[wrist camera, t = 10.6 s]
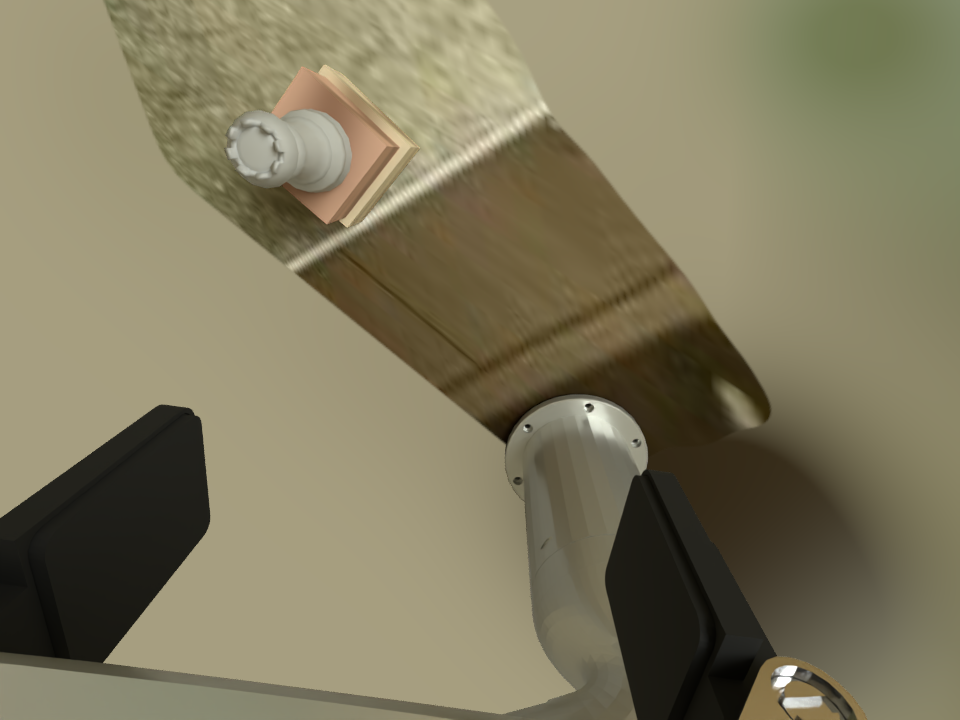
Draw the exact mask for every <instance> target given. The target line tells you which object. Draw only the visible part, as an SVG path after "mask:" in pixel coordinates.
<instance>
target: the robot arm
mask: <svg viewBox="0 0 960 720" xmlns="http://www.w3.org/2000/svg"><path fill="white" fill-rule="evenodd" d="M589 403H590V404H589ZM586 404H589V405H586ZM526 424H530V425H529V426H526ZM634 439H635V440H634ZM204 456H205V455H204V445H203V434H202V424H201V420H200V418H199V417H198V416H195V415H194V413H193V411H192V410H191V409H190V408H185V407H177V406H170V405H159V406H157V407H155V408H154V409H152V410H151V411H150V412H148V413H147V414H145V415H144V416H143V417H141V418H140V419H139V420H137V421H136V422H134V423H133V424H132V425H130V426H129V427H127V428H126V429H124V430H123V431H122V432H120V433H119V434H117V435H116V436H115V437H113V438H112V439H110V440H109V441H108V442H106V443H105V444H103V445H102V446H101V447H99V448H98V449H96V450H95V451H94V452H92V453H91V454H90V455H88V456H87V457H85V458H84V459H83V460H81V461H80V462H78V463H77V464H76V465H74V466H73V467H71V468H70V469H69V470H67V471H66V472H65V473H63V474H62V475H60V476H59V477H57V478H56V479H55V480H53V481H52V482H50V483H49V484H48V485H46V486H45V487H43V488H42V489H41V490H39V491H38V492H36V493H35V494H34V495H32V496H31V497H29V498H28V499H27V500H25V501H24V502H22V503H21V504H20V505H18V506H17V507H15V508H14V509H13V510H11V511H10V512H8V513H7V514H6V515H4V516H3V517H1V518H0V720H867V718H866V715H865V713H864V712H863V710H862V709H861V707H860V706H859V705H858V703H857V702H856V700H855V699H854V698H853V696H851V694H850V693H849V692H848V691H847V690H845V689H844V688H843V686H841V685H840V684H839V683H838V682H837V681H836V680H834V679H833V678H832V677H830V676H829V675H828V674H826V673H825V672H824V671H822V670H820V669H818V668H816V667H815V666H813V665H810V664H809V663H807V662H804V661H801V660H798V659H795V658H791V657H778V656H777V655H776V653H775V652H774V650H773V648H772V646H771V644H770V643H769V641H768V639H767V637H766V635H765V634H764V632H763V630H762V628H761V626H760V624H759V623H758V621H757V619H756V617H755V615H754V614H753V612H752V610H751V608H750V606H749V604H748V603H747V601H746V599H745V597H744V595H743V594H742V592H741V590H740V588H739V586H738V584H737V583H736V581H735V579H734V577H733V575H732V574H731V572H730V570H729V568H728V567H727V565H726V563H725V561H724V559H723V557H722V555H721V554H720V552H719V550H718V549H717V547H716V546H715V544H714V543H712V542H711V541H710V539H709V538H708V536H707V534H706V532H705V530H704V528H703V527H702V525H701V523H700V521H699V519H698V517H697V515H696V514H695V512H694V510H693V508H692V506H691V504H690V503H689V501H688V499H687V497H686V495H685V493H684V492H683V490H682V488H681V486H680V484H679V482H678V481H677V479H676V477H675V476H674V474H673V473H668V472H660V471H654V470H646V466H647V461H648V453H647V445H646V442H645V438H644V436H643V434H642V432H641V429H640V427H639V426H638V424H637V423H636V422H635V420H634V419H633V417H632V416H631V415H630V414H629V413H627V412H626V411H625V410H624V409H623V408H621V407H620V406H618V405H617V404H615V403H613V402H611V401H609V400H606V399H603V398H601V397H596V396H591V395H573V394H572V395H566V396H560V397H556V398H553V399H550V400H547V401H544V402H543V403H541V404H539V405H537V406H535V407H533V408H532V409H531V410H530V411H528V412H527V413H526V414H525V415H523V416H522V418H521V419H520V420H519V421H518V422H517V424H516V425H515V426H514V428H513V430H512V432H511V433H510V435H509V438H508V441H507V445H506V449H505V467H506V468H505V469H506V473H507V477H508V480H509V482H510V484H511V486H512V488H513V490H514V491H515V492H516V494H517V495H518V496H519V497H520V498H521V499H522V500H523V501H524V502H525V513H526V528H527V529H526V530H527V545H528V560H529V576H530V591H531V602H532V616H533V622H534V627H535V630H536V634H537V637H538V639H539V642H540V643H541V646H542V648H543V650H544V652H545V654H546V655H547V657H548V659H549V660H550V661H551V663H552V664H553V665H554V667H555V668H556V669H557V670H558V672H559V673H560V674H561V675H562V676H563V677H564V678H565V679H566V680H567V681H568V682H569V683H570V684H571V685H572V686H573V687H574V688H575V689H576V690H577V691H575V692H572V693H569V694H566V695H563V696H560V697H557V698H553V699H550V700H548V701H547V702H546V703H543V704H539V705H536V706H532V707H528V708H524V709H521V710H517V711H513V712H509V713H506V714H494V713H487V712H480V711H471V710H465V709H458V708H450V707H442V706H435V705H428V704H421V703H413V702H406V701H398V700H390V699H383V698H375V697H367V696H359V695H352V694H344V693H336V692H329V691H321V690H313V689H305V688H298V687H290V686H282V685H274V684H266V683H258V682H251V681H243V680H235V679H227V678H219V677H210V676H202V675H195V674H187V673H178V672H170V671H163V670H154V669H145V668H138V667H130V666H121V665H113V664H106V663H103V662H104V661H105V659H106V658H107V657H108V656H109V654H110V653H111V652H112V651H113V649H114V648H115V647H116V646H117V644H118V643H119V641H121V639H122V638H123V637H124V635H125V634H126V633H127V632H128V631H129V629H130V628H131V627H132V625H133V624H134V623H135V622H136V620H137V619H138V618H139V617H140V615H141V614H142V613H143V612H144V610H145V609H146V608H147V606H148V605H149V604H150V602H152V600H153V599H154V598H155V596H156V595H157V594H158V593H159V591H160V590H161V589H162V588H163V586H164V585H165V584H166V583H167V581H168V580H169V579H170V577H171V576H172V575H173V574H174V572H175V571H176V570H177V569H178V567H179V566H180V565H181V564H182V562H183V561H184V560H185V559H186V557H187V556H188V555H189V553H190V552H191V551H192V550H193V548H194V547H195V546H196V545H197V544H198V542H199V541H200V540H201V539H202V537H203V536H204V535H205V533H206V531H207V529H208V526H209V523H210V508H209V498H208V487H207V476H206V466H205V457H204Z"/></svg>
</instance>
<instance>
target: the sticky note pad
mask: <svg viewBox="0 0 960 720" xmlns="http://www.w3.org/2000/svg"><path fill="white" fill-rule="evenodd" d="M300 109H314V110H317V111H321V112H324V113H327V114H328V115H329V116H331V117H332V118H333V119H334V120H336V121H337V122H338V123H339V124H340V125H341V127H342V128H343V130H344V131H345V133H346V135H347V136H348V138H349V142H350V147H351V152H352V159H351V165H350V171H349V172H348V174H347V176H346V177H345V179H344V180H343V182H342V183H341V184H340V185H338V186H337V187H335V188H334V189H332V190H331V191H325V192H318V193H315V192H307V191H303V190H300V189H296V188H295V187H293V186H292V185H291V184H289V183H288V182H285V183H284V184H282V186H283V187H284V188H285V189H286V190H287V191H289V192H290V193H291V194H292V195H293V196H294V197H296V198H297V199H298V200H299V201H300V202H301V203H302V204H304V205H305V206H306V207H307V208H308V209H309V210H311V211H312V212H313V213H314V214H315V215H316V216H318V217H319V218H320V219H321V220H322V221H323V222H324V223H326V224H329V223H332V222H335V221H338V220H339V221H340V222H341V223H342V224H343V225H344V226H346V227H347V228H348V227H350V226H353V225H355V224H357V223H359V222H362V221H363V220H364V218H365V217H366V216H367V215H368V213H369V212H370V211H371V210H372V208H373V207H374V206H375V205H376V203H377V202H378V201H379V200H380V198H381V197H382V196H383V194H384V193H385V192H386V191H387V189H388V188H389V187H390V186H391V184H392V183H393V182H394V181H395V179H396V178H397V177H398V176H399V174H400V173H401V172H402V171H403V169H404V168H405V167H406V165H407V164H408V163H409V162H410V160H411V159H412V158H413V157H414V155H415V154H416V153H417V152H418V150H419V149H420V147H418V146H417V145H416V144H415V143H414V142H413V141H412V140H411V139H410V138H409V137H408V136H407V135H406V134H405V133H404V132H403V131H402V130H401V129H400V128H399V127H398V126H397V125H395V124H394V123H393V122H392V121H391V120H390V119H389V118H388V117H387V116H386V115H385V114H384V113H383V112H382V111H381V110H380V109H379V108H378V107H377V106H376V105H375V104H374V103H373V102H371V101H370V100H369V99H368V98H367V97H366V96H365V95H364V94H363V93H362V92H361V91H360V90H359V89H358V88H357V87H356V86H355V85H354V84H353V83H352V82H351V81H350V80H348V79H347V78H346V77H345V76H344V75H343V74H341V73H339V72H338V71H336V70H334V69H332V68H330V67H328V66H326V65H323V67H322V68H321V70H320V71H319V73H315V72H313V71H311V70H309V69H307V68H305V67H301V69H300V70H299V72H298V73H297V75H296V76H295V78H294V79H293V81H292V82H291V84H290V85H289V87H288V88H287V90H286V91H285V93H284V94H283V96H282V97H281V99H280V101H279V102H278V104H277V105H276V107H275V108H274V110H273V111H272V113H271V114H274V115H275V116H277V117H278V118H279V119H280V118H281V117H283V116H284V115H286V114H287V113H289V112H290V111H294V110H300Z"/></svg>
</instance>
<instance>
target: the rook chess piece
mask: <svg viewBox="0 0 960 720" xmlns="http://www.w3.org/2000/svg"><path fill="white" fill-rule="evenodd" d="M225 136H226V137H228V140H227V148H224V149H225V152H226V156H227V159H228V160H231V163H232V164H233V166H234V167H235V169H236V170H235V171H237V172H238V173H239V174H240V176H242V177H243V178H244V179H246V180H247V181H248V182H250V183H251V184H252V185H256V186H259V187H263V188H273V187H279V186H281V185H282V184H284V183H285V182H288V183H289V184H291V185H292V186H293V187H295V188H296V189H300V190H303V191H307V192H315V193H318V192H325V191H331V190H332V189H334V188H335V187H337V186H338V185H340V184H341V183H342V182H343V180H344V179H345V177H346V176H347V174H348V172H349V171H350V165H351V159H352V152H351V147H350V142H349V138H348V136H347V135H346V133H345V131H344V130H343V128H342V127H341V125H340V124H339V123H338V122H337V121H336V120H334V119H333V118H332V117H331V116H329V115H328V114H327V113H324V112H321V111H317V110H314V109H300V110H294V111H290V112H289V113H287V114H286V115H284V116H283V117H281V118H280V119H279V118H278V117H277V116H275V115H274V114H271V113H268V112H265V111H261V110H256V111H249V112H245V113H243V114H242V115H241V116H239V117H238V118H237V119H235V120H234V122H233V124H232V126H230V127H229V129H228V131H227V133H226V135H225Z"/></svg>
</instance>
